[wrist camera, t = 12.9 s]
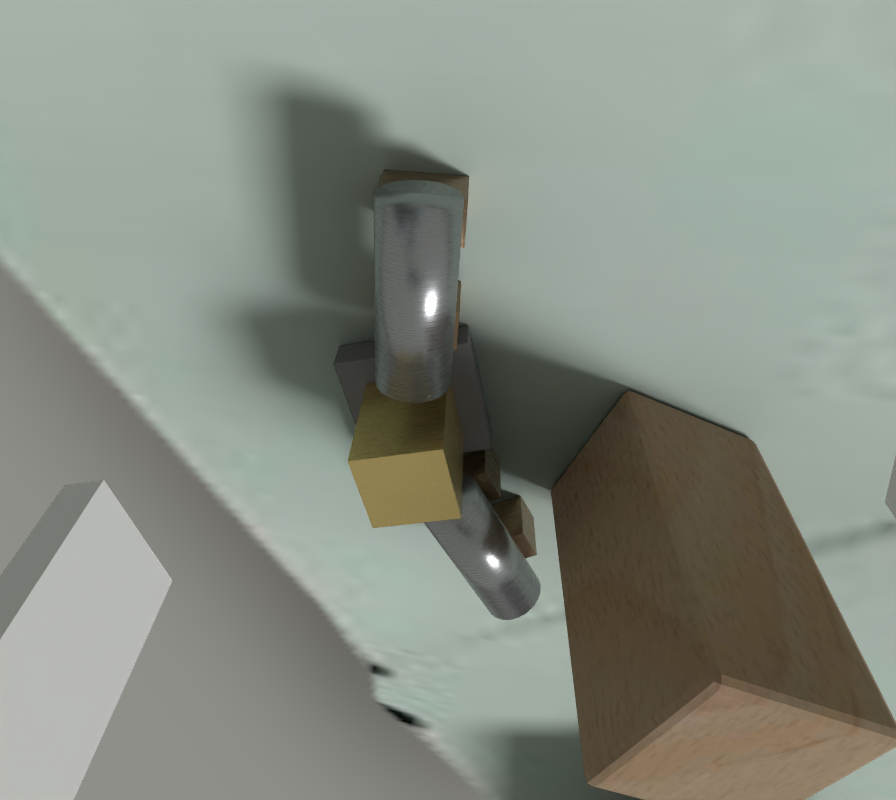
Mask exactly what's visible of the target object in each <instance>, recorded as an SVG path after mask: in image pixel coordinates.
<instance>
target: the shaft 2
mask: <svg viewBox="0 0 896 800" xmlns="http://www.w3.org/2000/svg"><path fill="white" fill-rule="evenodd" d="M498 498H501V484H500V461H499V459H498V458H497V456H496V454H495V453H494V451H493V449H492V448H491V449H487V450H479V451H472V452H464V453H463V477H462V509H461V518H459V519H450V520H441V521H432V522H424V523H425V525H426V526H427V528H428V529H429V530H430V532H431V533H432V534H433V536H434V537H435V538H436V540H437V541H438V543H439V544H440V545H441V547H442V548H443V549H444V551H445V552H446V553H447V555H448V556H449V557H450V559H451V560H452V562H453V563H454V564H455V566H456V567H457V568H458V570H459V571H460V572H461V574H462V575H463V576H464V578H465V579H466V581H467V582H468V583H469V585H470V586H471V587H472V589H473V590H474V591H475V593H476V594H477V596H478V597H479V598H480V600H481V601H482V602H483V604H484V605H485V606H486V608H487V609H488V610H489V612H490V613H491V614H492V615H493V616H494V617H496V618H499V619H503V620H510V619H515V618H518V617H520V616H522V615H524V614H525V613H527V612H528V611H529V610H530V609H531V608H532V607H533V606H534V605H535V603H536V602H537V600H538V597H539V595H540V582H539V579H538V577H537V576H536V574H535V573H534V571H533V570H532V568H531V566H530V565H529V563H528V562H527V560H526V559H525V558H528V557H531V556H534V555H537V553H536V541H535V529H534V518H533V516H532V514H531V513H530V511H529V509H528V508H527V506H526V504H525V503H524V501H523V499H522V498H521V496H519V497H516V498H513V499H510V500H507V501H503V502H500V503H497V504H494V505H491V504H490V503H489V501H492V500H495V499H498Z"/></svg>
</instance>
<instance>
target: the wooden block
mask: <svg viewBox="0 0 896 800" xmlns="http://www.w3.org/2000/svg"><path fill="white" fill-rule="evenodd" d="M551 496H552V504H553V513H554V521H555V530H556V538H557V547H558V555H559V563H560V572H561V580H562V589H563V597H564V606H565V614H566V622H567V631H568V639H569V648H570V656H571V665H572V673H573V681H574V690H575V698H576V707H577V715H578V724H579V732H580V741H581V749H582V757H583V766H584V774H585V778H586V781H587V783H588V784H590V785H591V786H593V787H597V788H601V789H605V790H609V791H612V792H616V793H620V794H624V795H628V796H632V797H636V798H639V799H643V800H805V799H807V798H808V797H810V796H812V795H814V794H815V793H817V792H819V791H821V790H822V789H824V788H826V787H828V786H829V785H831V784H833V783H834V782H836V781H838V780H840V779H841V778H843V777H845V776H847V775H848V774H850V773H852V772H854V771H855V770H857V769H859V768H861V767H862V766H864V765H866V764H868V763H869V762H871V761H873V760H874V759H876V758H878V757H880V756H881V755H883V754H885V753H887V752H888V751H890V750H892V749H894V748H895V747H896V722H895V720H894V718H893V716H892V714H891V712H890V710H889V708H888V706H887V704H886V702H885V700H884V698H883V696H882V694H881V692H880V690H879V688H878V686H877V684H876V682H875V680H874V678H873V676H872V674H871V672H870V670H869V668H868V666H867V664H866V662H865V660H864V658H863V656H862V654H861V652H860V650H859V648H858V646H857V644H856V642H855V640H854V638H853V636H852V634H851V632H850V630H849V629H848V627H847V625H846V623H845V621H844V619H843V617H842V615H841V613H840V611H839V609H838V607H837V605H836V603H835V601H834V599H833V597H832V595H831V593H830V591H829V589H828V587H827V585H826V583H825V581H824V579H823V577H822V575H821V573H820V571H819V569H818V567H817V565H816V563H815V561H814V559H813V557H812V555H811V553H810V551H809V549H808V547H807V545H806V543H805V541H804V539H803V537H802V535H801V533H800V531H799V529H798V527H797V525H796V523H795V521H794V519H793V517H792V515H791V513H790V511H789V509H788V507H787V505H786V503H785V501H784V499H783V497H782V495H781V493H780V491H779V489H778V487H777V485H776V483H775V481H774V479H773V477H772V475H771V473H770V471H769V469H768V467H767V465H766V463H765V462H764V460H763V458H762V456H761V454H760V452H759V450H758V448H757V446H756V444H755V443H754V442H753V441H752V440H750V439H748V438H745V437H743V436H740V435H738V434H735V433H733V432H730V431H728V430H726V429H723V428H721V427H718V426H716V425H713V424H711V423H708V422H706V421H703V420H701V419H699V418H696V417H694V416H691V415H689V414H686V413H684V412H681V411H679V410H676V409H674V408H672V407H669V406H667V405H664V404H662V403H659V402H657V401H654V400H652V399H649V398H647V397H645V396H642V395H640V394H637V393H635V392H632V391H627V392H625V393H624V394H623V395H622V397H621V398H620V399H619V401H618V402H617V403H616V405H615V406H614V407H613V409H612V410H611V411H610V413H609V414H608V415H607V417H606V418H605V419H604V421H603V422H602V423H601V425H600V426H599V427H598V429H597V430H596V431H595V433H594V434H593V435H592V437H591V438H590V439H589V441H588V442H587V443H586V445H585V446H584V447H583V449H582V450H581V451H580V453H579V454H578V455H577V457H576V458H575V459H574V461H573V462H572V463H571V465H570V466H569V467H568V469H567V470H566V471H565V473H564V474H563V475H562V477H561V478H560V479H559V481H558V482H557V483H556V485H555V486H554V487H553V489H552V493H551Z"/></svg>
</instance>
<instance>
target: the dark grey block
mask: <svg viewBox="0 0 896 800" xmlns="http://www.w3.org/2000/svg"><path fill="white" fill-rule="evenodd" d="M334 366H335V369H336V372H337V374H338V377H339V380H340V383H341V385H342V388H343V391H344V394H345V396H346V399H347V402H348V405H349V407H350V410H351V413H352V416H353V418H354V421H355V424H356V425H357V420H358V416H359V412H360V408H361V403H362V399H363V395H364V391H365V386H366V383H372V382H375V341H368V342H362V343H356V344H350V345H343V346H339V349H338V352H337V356H336V359H335V362H334ZM451 385H452V389H453V393H454V398H455V402H456V406H457V410H458V414H459V419H460V423H461V427H462V431H463V435H464V446H463V453H464V452H472V451H479V450H487V449H491V427H490V422H489V418H488V413H487V409H486V404H485V399H484V395H483V390H482V386H481V381H480V376H479V372H478V367H477V363H476V358H475V353H474V349H473V344H472V340H471V335H470V330H469V326H462V327H458V337H457V350H453V358H452V372H451Z"/></svg>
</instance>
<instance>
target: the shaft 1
mask: <svg viewBox="0 0 896 800" xmlns="http://www.w3.org/2000/svg"><path fill="white" fill-rule="evenodd" d="M468 186H469V176H461V175H447V174H433V173H418V172H404V171H390V170H384V171H383V173H382V176H381V179H380V182H379V185H378V187H377V189H376V190H375V191H374V304H375V383H376V386H377V388H378V389H379V391H380V392H381V393H383V394H384V395H386V396H387V397H389V398H391V399H394V400H397V401H401V402H407V403H422V402H428V401H432V400H435V399H437V398H439V397H441V396H442V395H444V394H445V393H446V392H447V391H448V389H449V387H450V384H451V372H452V358H453V350H457V337H458V324H459V310H460V291H461V281H458V275H459V261H460V247H461V248H464V245H465V232H466V219H467V205H468Z"/></svg>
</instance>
